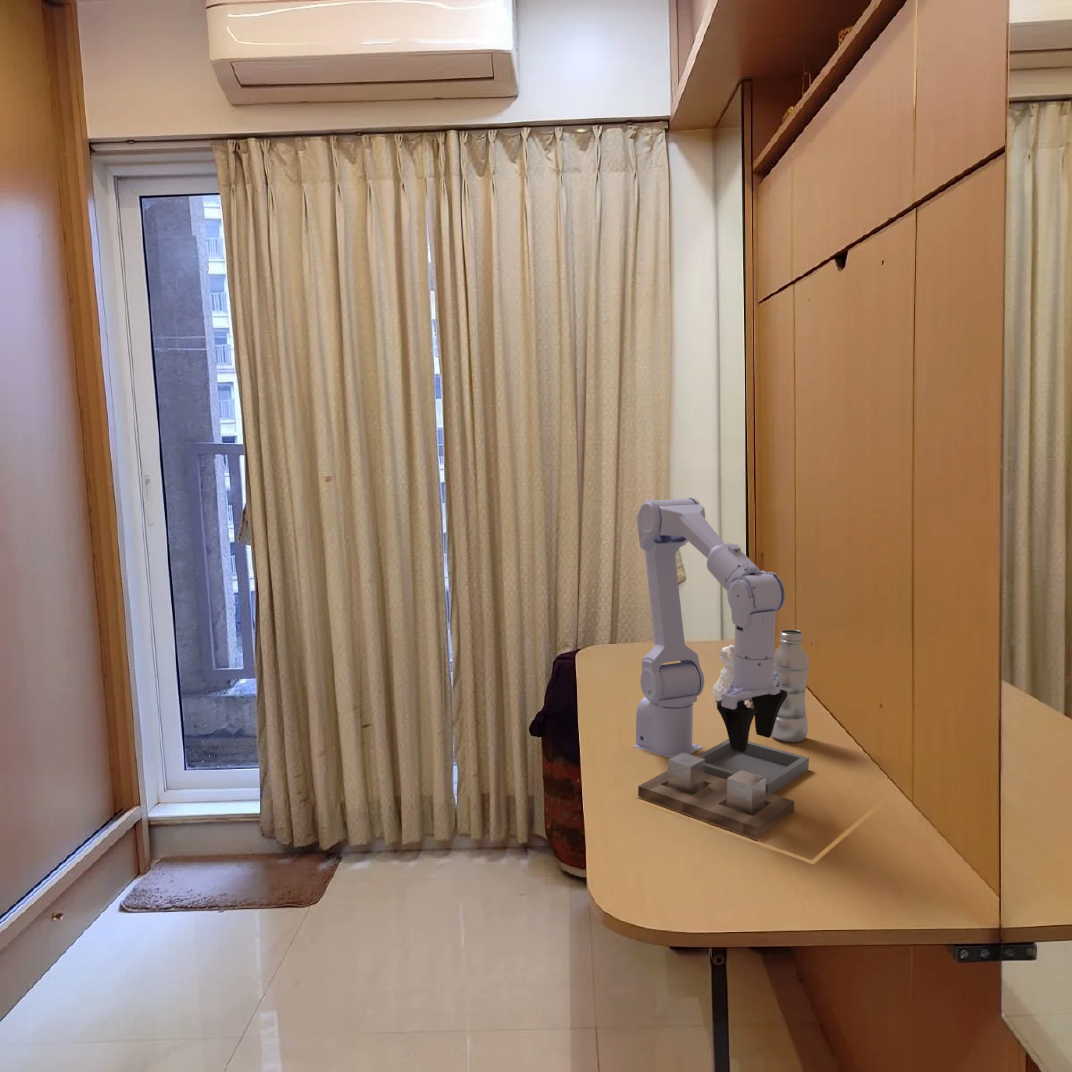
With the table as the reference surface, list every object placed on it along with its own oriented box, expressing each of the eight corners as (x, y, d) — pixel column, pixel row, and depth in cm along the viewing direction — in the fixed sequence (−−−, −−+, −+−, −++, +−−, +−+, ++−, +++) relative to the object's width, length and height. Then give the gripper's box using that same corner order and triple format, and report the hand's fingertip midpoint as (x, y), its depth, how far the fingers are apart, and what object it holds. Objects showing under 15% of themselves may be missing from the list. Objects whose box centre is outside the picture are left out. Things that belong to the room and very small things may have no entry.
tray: (688, 775, 138) (688, 760, 138) (732, 750, 148) (732, 736, 148) (767, 800, 129) (767, 784, 128) (808, 772, 139) (808, 757, 138)
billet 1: (667, 797, 130) (668, 759, 129) (681, 788, 133) (682, 752, 132) (689, 805, 127) (690, 766, 127) (704, 796, 130) (704, 759, 130)
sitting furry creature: (748, 712, 168) (750, 653, 166) (705, 706, 171) (707, 648, 170) (759, 698, 176) (760, 642, 174) (717, 693, 180) (719, 637, 178)
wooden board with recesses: (638, 798, 130) (638, 786, 129) (678, 776, 138) (678, 764, 137) (757, 841, 116) (757, 827, 116) (793, 813, 124) (794, 801, 124)
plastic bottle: (809, 748, 149) (813, 637, 146) (769, 745, 150) (773, 635, 148) (805, 735, 155) (809, 628, 153) (767, 732, 157) (770, 626, 154)
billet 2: (726, 817, 123) (727, 778, 123) (740, 808, 126) (741, 769, 125) (751, 826, 121) (752, 786, 120) (764, 816, 124) (765, 777, 123)
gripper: (754, 670, 117) (751, 764, 119) (802, 649, 128) (798, 736, 130) (709, 661, 122) (707, 751, 124) (759, 641, 132) (756, 724, 134)
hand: (751, 742), depth 127 cm, fingers open, 7 cm apart
